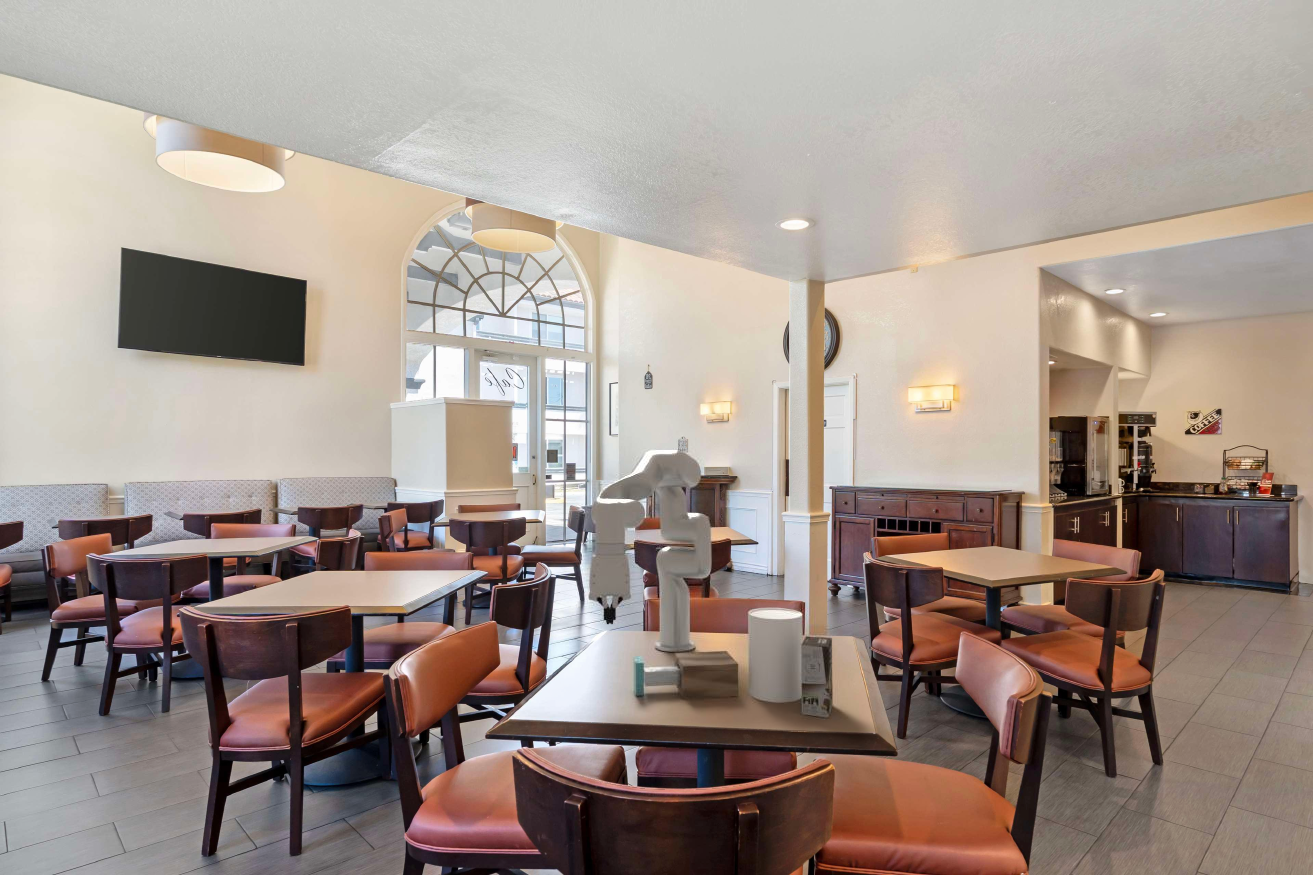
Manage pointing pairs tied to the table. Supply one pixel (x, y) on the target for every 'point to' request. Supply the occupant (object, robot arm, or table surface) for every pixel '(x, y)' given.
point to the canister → (775, 654)
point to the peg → (653, 676)
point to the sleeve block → (707, 674)
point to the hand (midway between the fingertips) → (609, 622)
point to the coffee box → (816, 676)
